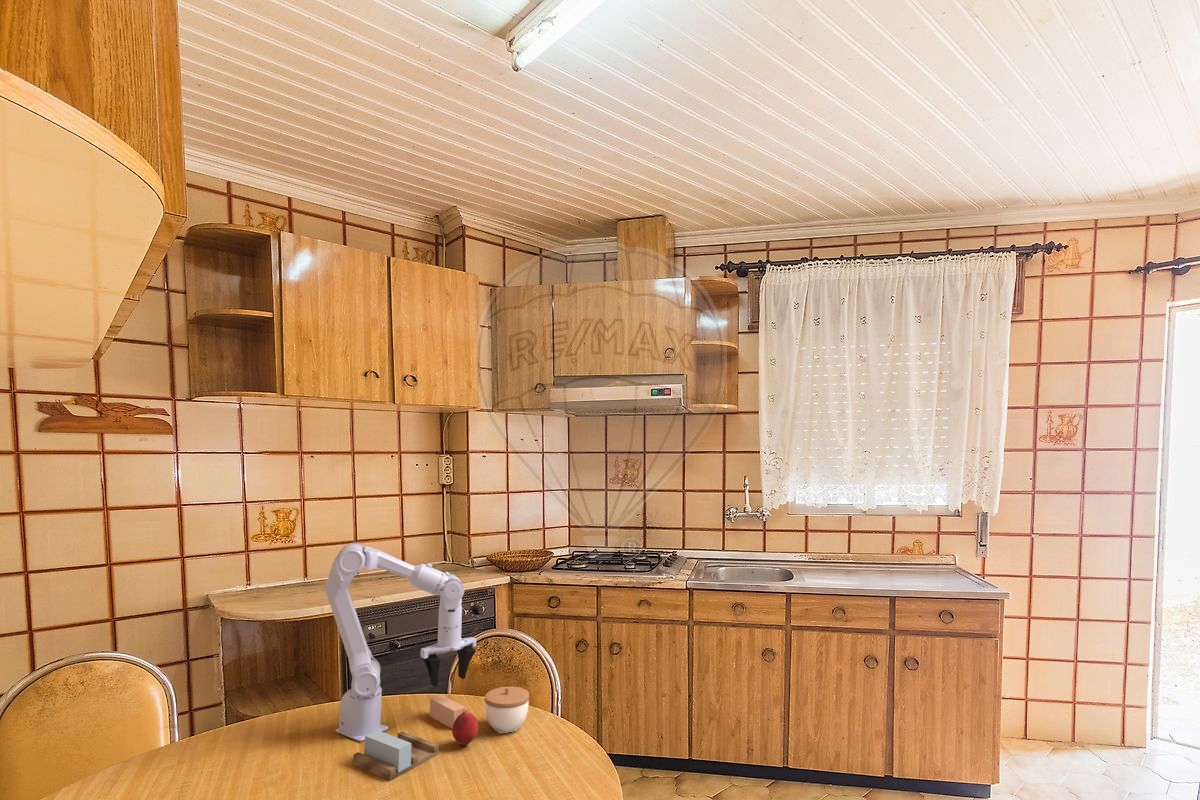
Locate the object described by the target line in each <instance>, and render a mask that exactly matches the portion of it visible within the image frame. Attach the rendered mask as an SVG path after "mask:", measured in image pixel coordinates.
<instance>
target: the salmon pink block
mask: <svg viewBox="0 0 1200 800" xmlns="http://www.w3.org/2000/svg"><path fill="white" fill-rule="evenodd" d="M466 708H467V707H466V706H464V705H462V704H460V703H458V702H457V701H454V700H453V699H450V698H449V697H447V696H445V695H442V694H439V695H437V696H433V697H430V699H429V717H431V718H432V717H433V719H435V720H436V721H437V720H438V721H437V722H439V721H440V722H439V723H441V724H443V725H444V724H445V726H446V727H448V728H449V727H450V729H451V730H452V728H453V724H454V721H455V720H456V718H457V717H458V716H459V715H460V714H462V713H463V711H464V709H466Z"/></svg>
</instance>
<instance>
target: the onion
mask: <svg viewBox="0 0 1200 800" xmlns="http://www.w3.org/2000/svg"><path fill="white" fill-rule="evenodd" d="M478 721H479V720H478V719H477V718H476V716H475V715H474V714H473V713H471V712H470V709H469V708H468V707H466V709H464V711H463V713H462V714H460V715H459V716H458V717H457V718H456V720H455V721H454V724H453V728H452V729H451V733H452V736H453V739H454V740H455V741H456V742H457V743H458V744H460V745H461V746H463V747H467V746H468V745H469V744H470V743H471V742H472V741H473V740H474V739H475V738H476V737H477V735H478V732H479V722H478Z"/></svg>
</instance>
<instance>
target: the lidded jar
mask: <svg viewBox="0 0 1200 800" xmlns="http://www.w3.org/2000/svg"><path fill="white" fill-rule="evenodd" d="M529 700H530V692H529V691H528V690H527V689H525V688H524V687H520V686H501V687H497V688H493V689H490V690H489V691H487V693H486V694H485V695H484V709H485V716H486V717H485V718H486V720H487V722H488V724H489V726H491V728H493V730H494V732H496V731H497V732H496V733H498V732H501V733H500V734H503V733H507V734H509V733H508V732H512V733H514V732H513V731H515V730H517V729H518V728H519V729H520V727H522V725H523V723H525V721H526V719H527V716H528V712H529V702H530V701H529ZM519 729H518V730H519ZM518 730H517V731H518ZM515 732H516V731H515Z"/></svg>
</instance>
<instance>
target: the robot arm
mask: <svg viewBox="0 0 1200 800" xmlns="http://www.w3.org/2000/svg"><path fill="white" fill-rule="evenodd" d="M330 567H331V568H330V571H329V574H328V578H327V580H326V583H325V587H324V589H325V590H324V591H325V594H326V596H327V600H328V603H329V606H330V609H331V611H332V615H333V618H334V620H335V623H336V626H337V629H338V632H339V636H340V638H341V640H342V644H343V646H344V651H346V656H347V658H348V663H349V670H350V674H351V685H350V686H351V687H350V688H351V689H350V688H349V689H348V690H347V691H346V692H345V693H344V694H343V695H342V697H341V700H340V704H339V720H338V728H336V729H335V733H338V734H340V735H343V736H345V737H348V738H350V739H352V740H354V741H357V742H364V741H365V736H366V735H368V734H370V733H372V732H375V731H377V730H378V731H381V732H383V733H384V731H387V730H389V726H387V725H384V724H382V722H381V719H382V717H381V716H382V695H383V694H382V693H383V688H382V687H381V672H382V671H381V664H380V663H379V661H378V660H377V659H376V658H374V657H373V654H372V650H370V648H369V645H368V642H367V640H366V638H365V635H364V631H363V628H362V626H361V621H360V620H359V617H358V614H357V610H356V608H355V606H354V602H353V599H352V596H351V594H350V589H349V586H350V584H351V582H352V581H353V579H354V577H355V576H357V575H358V574H359V573H360V572H361V571H362V570H363V568H364V567H365V571H371V570H375V569H381V570H385V571H387V572H389V573H392V574H395V575H398V576H401V577H403V578H406V579H408V580H409V582H410V583H409V584H410V585H411V587H414V588H416V589H419V590H422V591H424V592H426V593H429V594H432V595H433V596H436V595H437V596H440V597H439V607H438V621H437V623H438V624H437V625H438V626H437V643H434V644H431V645H429V646H425V647H422V648H420V658H422V661H423V662H424V665H425V666H426V669H427V672H428V675H429V679H430V685H431V686H433V687H435V688H436V687H438V685H439V671H440V666H441V665H440V664H441V661H442V660H441V659H440V658H439V657H438V655H441V654H446V653H451V652H455V651H457V657H458V658H457V659H458V667H457V668H458V670H457V672H458V677H459V678H460V679H462V680H464V679H466V675H467V672H468V668H469V665H470V663H471V660H472V659H473V656H474V655H475V653H476V649H475V648H474V647H477V638H476V637H474V636H471V637H465V638H462V627H463V626H462V622H463V620H462V619H463V618H462V617H463V606H462V602H463V599H462V598H463V596H464V594H465V588H464V585H463V584H462V581H461V580H460V578H459V577H457V576H456V575H455V574H453V573H450V572H448V571H445V572H443V571H441V570H439V569H436V568H433V565H432V564H431V563H426V564H424V563H420V564H418V565H412V564H410V563H408V562H406V561H404V560H402V559H399V558H398V557H395V556H393V555H391V554H389V553H386V552H384V551H382V550H380V549H377V548H374V547H371V546H367V545H365V546H364V545H363V544H361V543H359V542H351V543H347V544H346V545H344V546H343V547H342V548H341V550H340V551H339V552H338V553H337V555H336V556H335V558H334V561H333V562H332V565H331V566H330Z"/></svg>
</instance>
